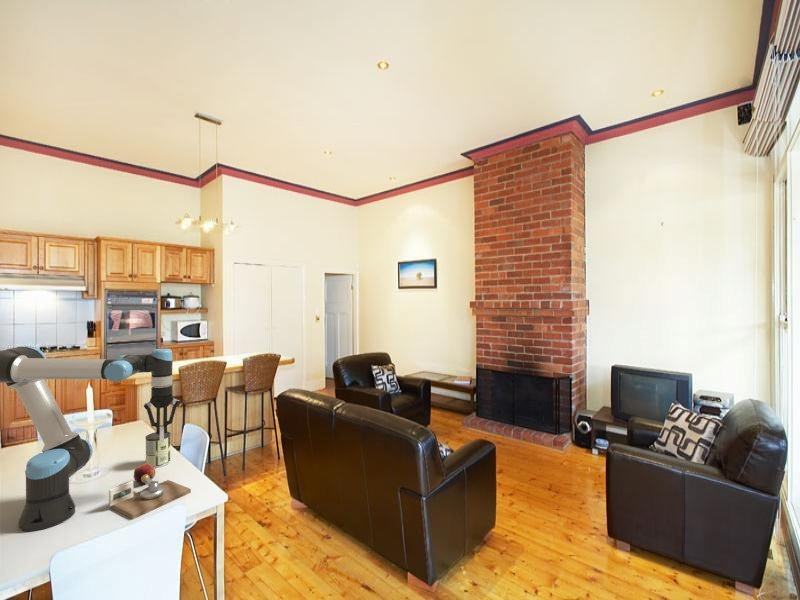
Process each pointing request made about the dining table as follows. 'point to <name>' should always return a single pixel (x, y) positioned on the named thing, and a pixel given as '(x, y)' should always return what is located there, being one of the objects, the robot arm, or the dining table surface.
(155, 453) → the coffee can
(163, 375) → the robot arm
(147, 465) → the fruit
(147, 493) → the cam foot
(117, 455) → the dining table surface
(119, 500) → the stand
